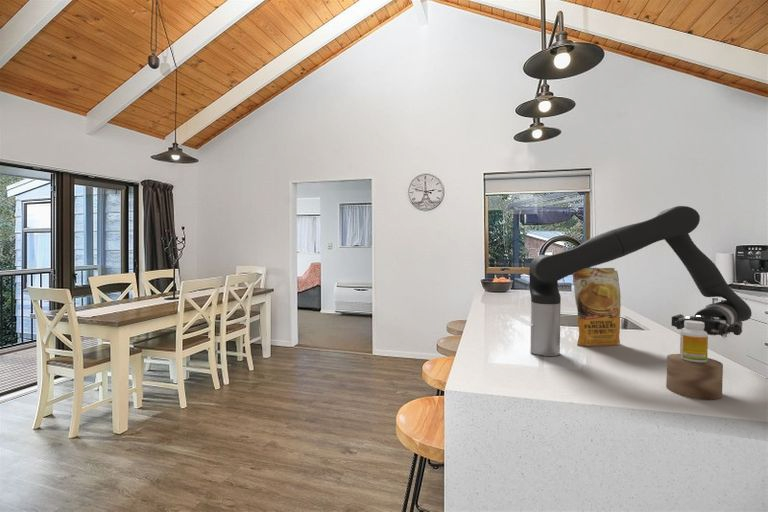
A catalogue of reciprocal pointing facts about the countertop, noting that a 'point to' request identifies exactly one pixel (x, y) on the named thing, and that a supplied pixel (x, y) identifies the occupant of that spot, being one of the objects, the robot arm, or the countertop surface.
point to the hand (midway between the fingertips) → (698, 328)
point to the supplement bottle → (694, 342)
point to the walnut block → (694, 378)
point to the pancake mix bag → (597, 306)
